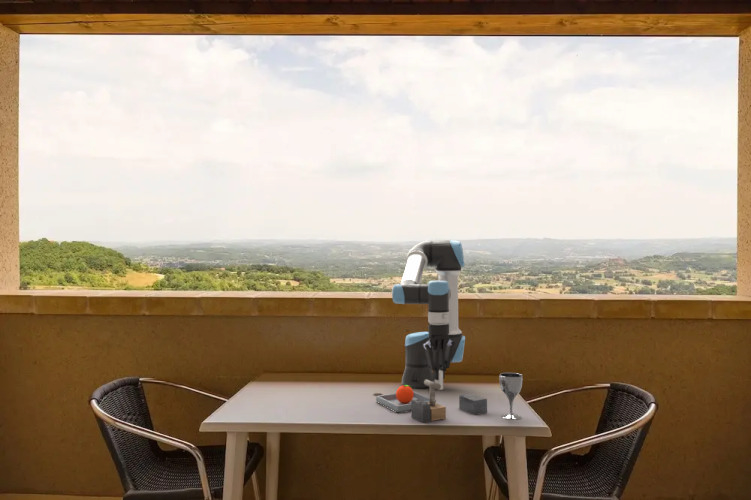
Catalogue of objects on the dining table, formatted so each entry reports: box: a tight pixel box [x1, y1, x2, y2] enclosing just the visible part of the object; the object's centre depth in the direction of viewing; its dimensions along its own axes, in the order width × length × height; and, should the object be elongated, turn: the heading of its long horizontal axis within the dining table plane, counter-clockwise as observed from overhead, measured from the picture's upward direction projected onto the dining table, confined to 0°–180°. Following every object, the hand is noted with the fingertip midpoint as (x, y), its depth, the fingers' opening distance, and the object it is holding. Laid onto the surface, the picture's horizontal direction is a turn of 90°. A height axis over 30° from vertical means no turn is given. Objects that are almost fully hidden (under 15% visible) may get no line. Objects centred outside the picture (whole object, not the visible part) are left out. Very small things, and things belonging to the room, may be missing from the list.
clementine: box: [395, 385, 414, 404], centre depth 212 cm, size 8×7×7 cm
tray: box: [375, 390, 437, 413], centre depth 212 cm, size 17×17×2 cm
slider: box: [424, 380, 447, 422], centre depth 195 cm, size 8×6×12 cm
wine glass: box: [499, 372, 523, 421], centre depth 195 cm, size 8×8×15 cm
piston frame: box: [410, 392, 488, 424], centre depth 198 cm, size 9×28×6 cm, turn 117°
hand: (439, 388), depth 197 cm, fingers closed
